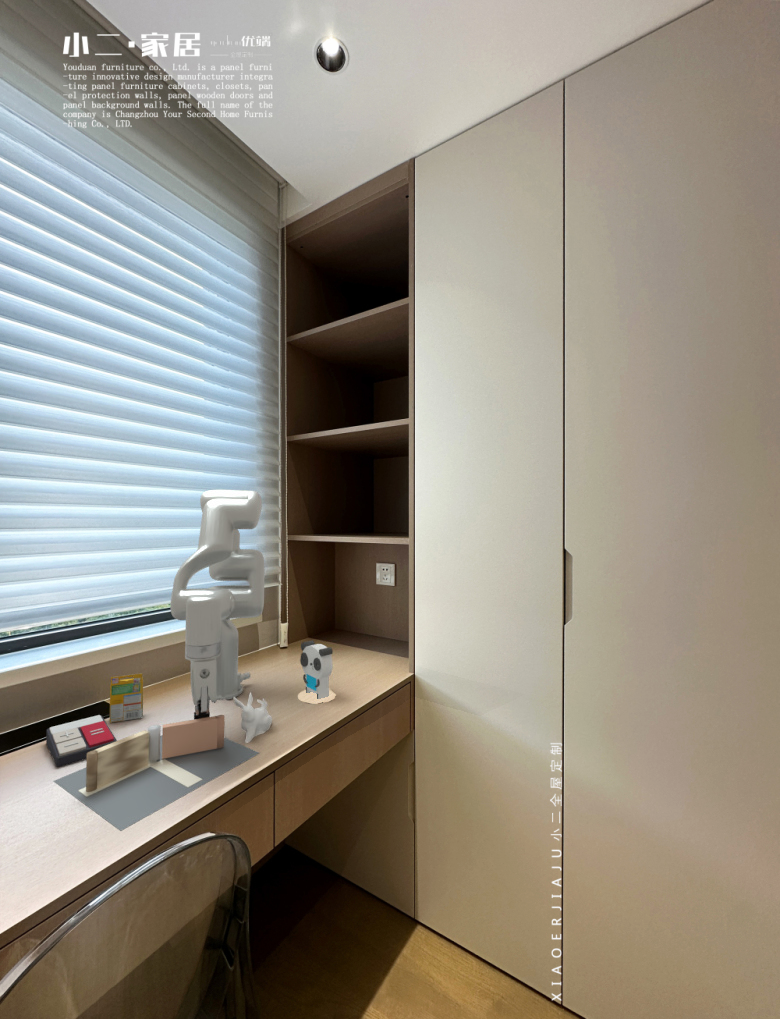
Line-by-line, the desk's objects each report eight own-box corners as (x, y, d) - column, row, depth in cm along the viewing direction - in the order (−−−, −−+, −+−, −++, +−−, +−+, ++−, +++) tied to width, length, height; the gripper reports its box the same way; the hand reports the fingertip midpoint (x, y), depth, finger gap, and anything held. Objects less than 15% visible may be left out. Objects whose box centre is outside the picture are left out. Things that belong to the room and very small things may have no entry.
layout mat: (191, 725, 116) (191, 722, 116) (260, 755, 102) (260, 752, 102) (53, 784, 90) (53, 780, 90) (120, 834, 77) (120, 830, 77)
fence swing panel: (223, 742, 105) (224, 713, 105) (224, 747, 103) (225, 718, 103) (147, 757, 99) (148, 726, 99) (147, 762, 97) (147, 731, 97)
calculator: (57, 754, 95) (46, 725, 106) (56, 775, 95) (45, 743, 106) (117, 737, 103) (101, 711, 113) (117, 756, 103) (101, 728, 114)
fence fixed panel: (143, 763, 97) (144, 729, 97) (148, 765, 96) (149, 732, 96) (84, 790, 88) (84, 753, 88) (88, 793, 87) (89, 756, 87)
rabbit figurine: (245, 749, 105) (246, 706, 105) (220, 741, 108) (221, 700, 109) (279, 727, 116) (279, 688, 116) (255, 721, 119) (256, 683, 119)
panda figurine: (288, 694, 136) (289, 643, 136) (320, 685, 144) (321, 636, 144) (310, 707, 127) (311, 653, 128) (344, 697, 135) (344, 645, 135)
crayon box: (142, 713, 122) (143, 669, 122) (142, 718, 119) (143, 673, 119) (110, 718, 119) (111, 673, 119) (109, 723, 116) (110, 677, 116)
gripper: (224, 657, 100) (223, 741, 100) (216, 639, 114) (215, 713, 114) (187, 661, 97) (185, 749, 97) (183, 642, 110) (182, 719, 110)
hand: (201, 729), depth 105 cm, fingers closed
